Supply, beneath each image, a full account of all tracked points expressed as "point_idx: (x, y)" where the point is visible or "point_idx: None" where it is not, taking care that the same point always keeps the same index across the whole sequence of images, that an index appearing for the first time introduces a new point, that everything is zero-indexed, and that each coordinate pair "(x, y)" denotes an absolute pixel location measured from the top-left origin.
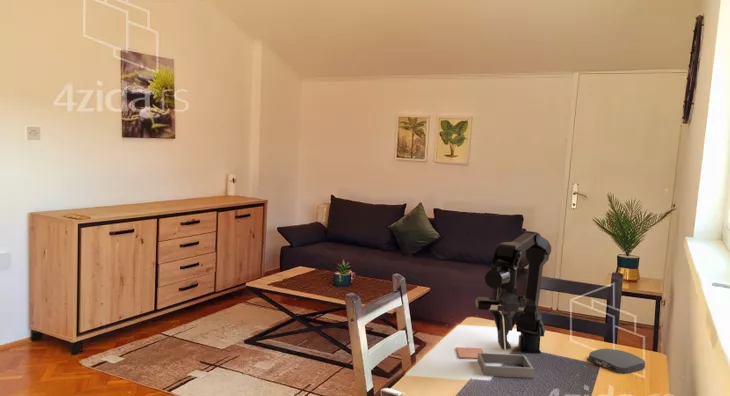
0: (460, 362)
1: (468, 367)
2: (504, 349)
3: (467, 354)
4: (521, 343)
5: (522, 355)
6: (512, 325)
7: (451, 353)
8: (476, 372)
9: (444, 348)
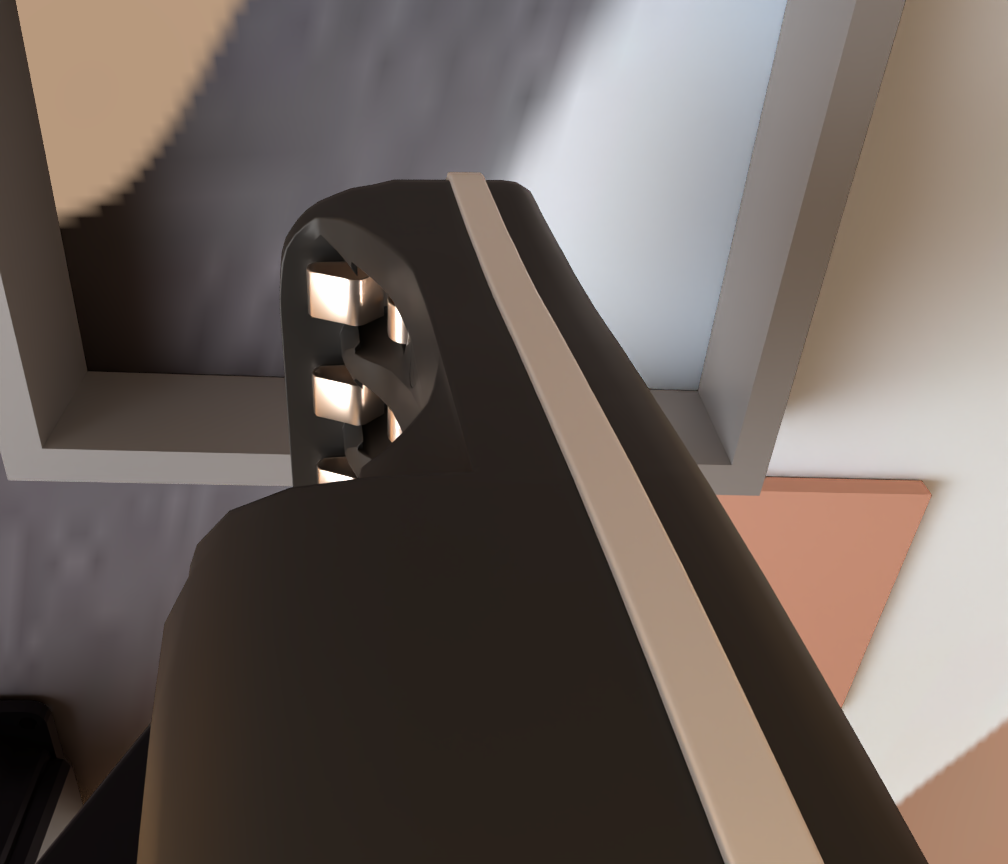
0: (972, 368)
1: (947, 208)
2: (480, 176)
3: (794, 566)
4: (33, 819)
5: (48, 452)
6: (118, 850)
7: (943, 603)
8: (917, 13)
9: (953, 706)
